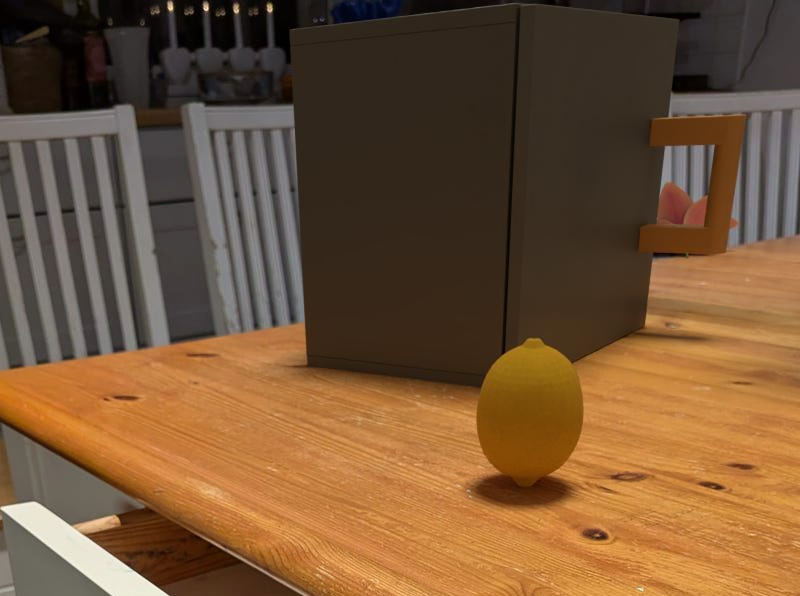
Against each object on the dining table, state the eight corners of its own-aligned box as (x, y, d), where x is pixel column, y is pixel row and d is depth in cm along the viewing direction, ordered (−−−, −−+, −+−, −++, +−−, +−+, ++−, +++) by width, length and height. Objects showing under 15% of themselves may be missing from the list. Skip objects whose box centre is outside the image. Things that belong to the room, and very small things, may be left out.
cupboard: (631, 326, 88) (664, 18, 77) (499, 391, 71) (516, 2, 59) (460, 313, 98) (467, 38, 87) (306, 367, 80) (289, 29, 69)
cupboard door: (723, 332, 84) (772, 10, 73) (607, 402, 66) (648, -10, 55) (634, 325, 88) (667, 20, 77) (502, 389, 70) (520, 5, 59)
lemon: (466, 501, 51) (471, 348, 47) (482, 468, 56) (487, 326, 52) (573, 508, 50) (586, 350, 46) (580, 473, 54) (593, 327, 50)
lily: (747, 277, 115) (735, 199, 115) (737, 248, 105) (724, 162, 105) (644, 307, 121) (633, 232, 121) (626, 282, 111) (613, 200, 111)
